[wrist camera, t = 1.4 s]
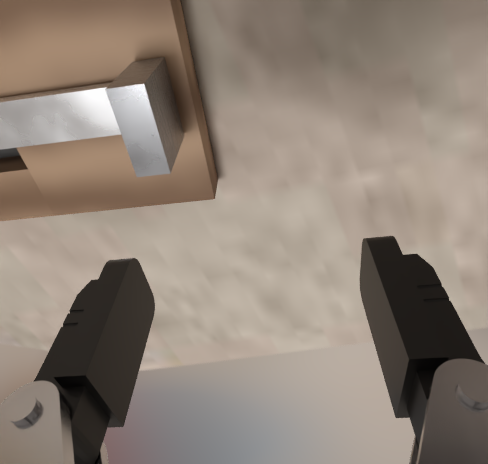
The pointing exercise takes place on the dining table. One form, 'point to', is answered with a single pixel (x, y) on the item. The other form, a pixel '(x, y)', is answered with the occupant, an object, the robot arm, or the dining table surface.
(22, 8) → the deck
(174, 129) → the sled
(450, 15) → the dining table surface
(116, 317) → the robot arm
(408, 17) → the dining table surface
